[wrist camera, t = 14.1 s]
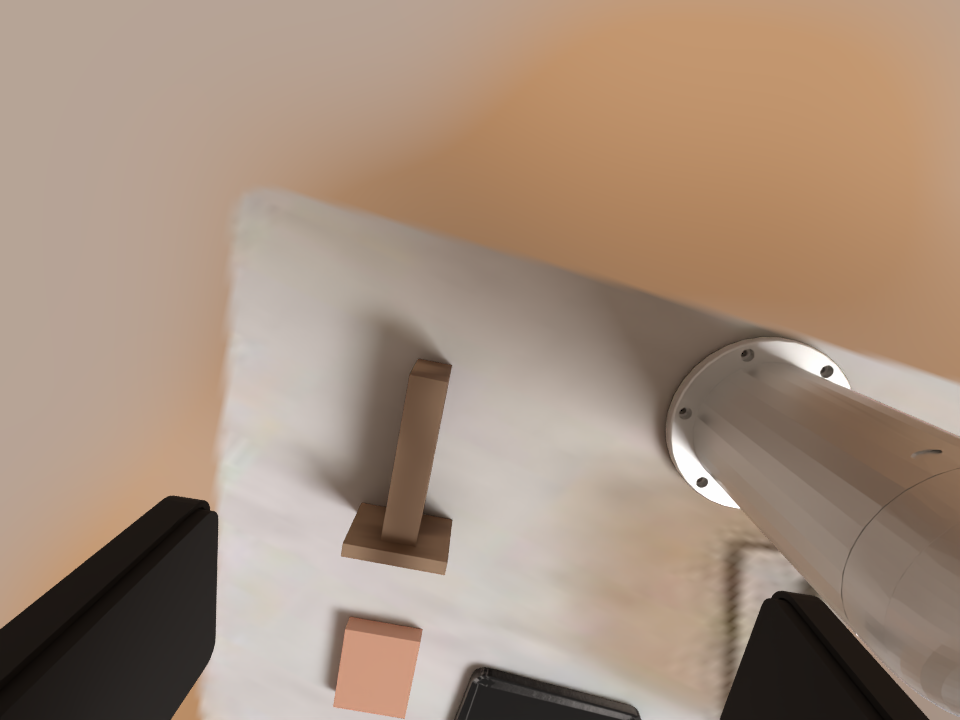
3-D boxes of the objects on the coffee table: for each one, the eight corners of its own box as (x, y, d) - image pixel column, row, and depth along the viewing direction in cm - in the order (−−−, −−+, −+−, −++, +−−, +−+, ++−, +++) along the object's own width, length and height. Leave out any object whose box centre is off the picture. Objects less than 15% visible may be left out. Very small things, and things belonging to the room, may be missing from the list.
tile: (420, 642, 38) (404, 718, 40) (422, 625, 40) (407, 699, 42) (345, 629, 38) (333, 706, 40) (351, 612, 40) (339, 688, 42)
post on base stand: (484, 371, 34) (483, 394, 29) (450, 530, 37) (444, 575, 32) (385, 351, 34) (368, 371, 29) (360, 513, 37) (340, 556, 32)
